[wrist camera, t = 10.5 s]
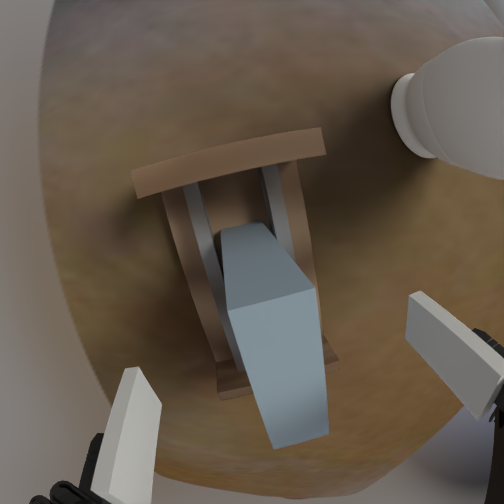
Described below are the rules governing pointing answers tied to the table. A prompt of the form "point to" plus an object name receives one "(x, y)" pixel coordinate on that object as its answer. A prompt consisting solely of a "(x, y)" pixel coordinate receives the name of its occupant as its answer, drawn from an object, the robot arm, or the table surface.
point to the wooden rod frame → (232, 214)
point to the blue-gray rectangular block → (276, 333)
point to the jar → (456, 107)
